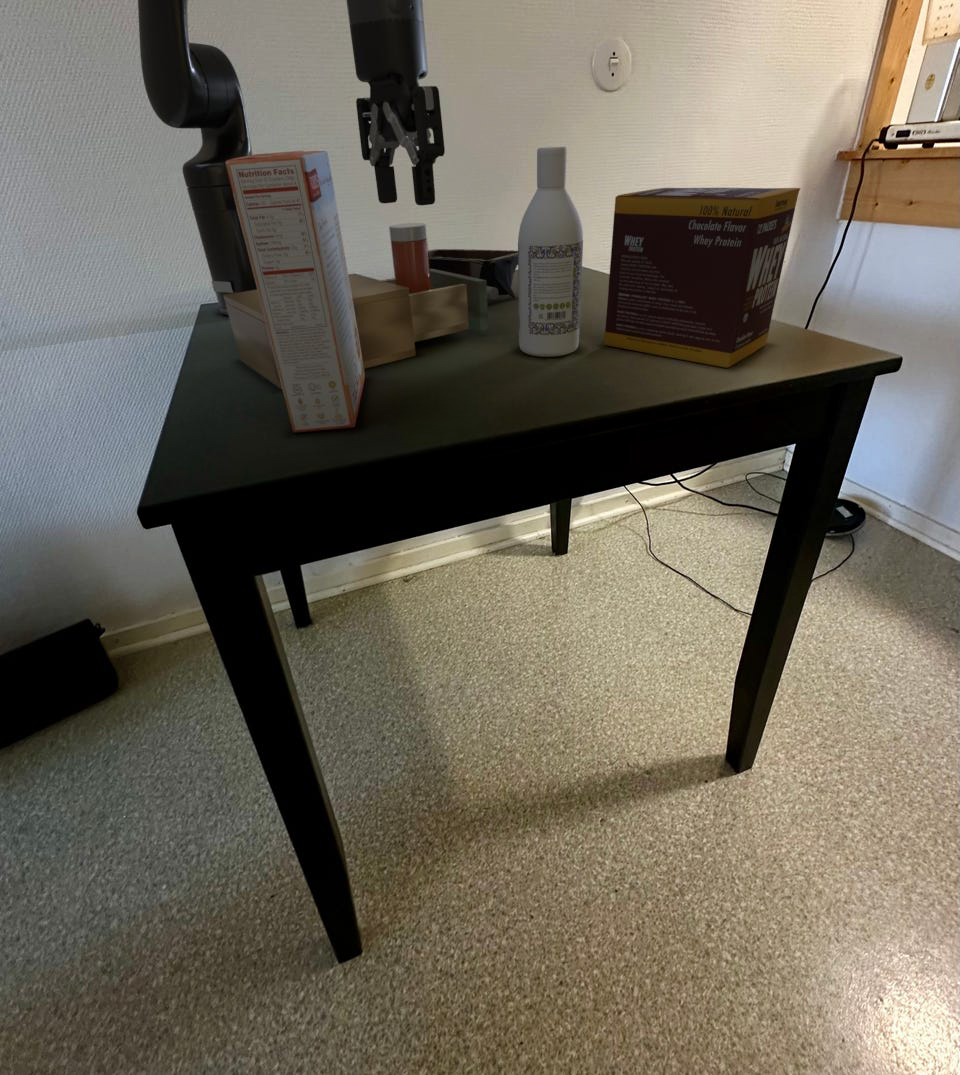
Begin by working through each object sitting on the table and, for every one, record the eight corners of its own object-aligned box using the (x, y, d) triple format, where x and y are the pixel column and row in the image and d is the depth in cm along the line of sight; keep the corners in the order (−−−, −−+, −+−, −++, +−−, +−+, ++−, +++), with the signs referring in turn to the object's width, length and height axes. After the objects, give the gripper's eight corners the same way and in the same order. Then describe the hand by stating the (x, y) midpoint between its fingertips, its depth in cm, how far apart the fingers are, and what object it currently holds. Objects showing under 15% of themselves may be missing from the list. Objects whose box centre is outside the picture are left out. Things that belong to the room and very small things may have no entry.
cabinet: (363, 334, 81) (354, 273, 76) (416, 355, 71) (409, 287, 67) (240, 361, 73) (223, 294, 69) (281, 389, 63) (263, 314, 59)
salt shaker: (393, 321, 77) (382, 226, 71) (422, 315, 79) (413, 222, 73) (411, 327, 74) (400, 228, 68) (441, 321, 76) (433, 224, 70)
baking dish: (454, 301, 103) (439, 238, 98) (542, 293, 93) (531, 222, 88) (399, 328, 94) (380, 260, 89) (490, 322, 84) (474, 245, 79)
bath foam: (590, 351, 69) (601, 144, 58) (538, 362, 67) (539, 148, 56) (558, 338, 75) (562, 146, 64) (508, 347, 72) (504, 149, 61)
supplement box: (730, 369, 62) (762, 196, 53) (602, 345, 71) (612, 194, 62) (769, 345, 68) (803, 186, 60) (647, 326, 77) (662, 186, 69)
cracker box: (311, 382, 65) (263, 152, 53) (367, 378, 65) (331, 148, 53) (287, 435, 53) (219, 155, 42) (356, 430, 53) (307, 150, 42)
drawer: (460, 307, 87) (457, 264, 84) (514, 322, 78) (513, 274, 75) (335, 334, 78) (326, 286, 74) (380, 355, 69) (373, 302, 66)
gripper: (456, 9, 58) (467, 202, 66) (385, 34, 67) (403, 199, 76) (388, 5, 54) (409, 209, 63) (323, 31, 64) (349, 205, 73)
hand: (406, 203), depth 70 cm, fingers open, 8 cm apart
